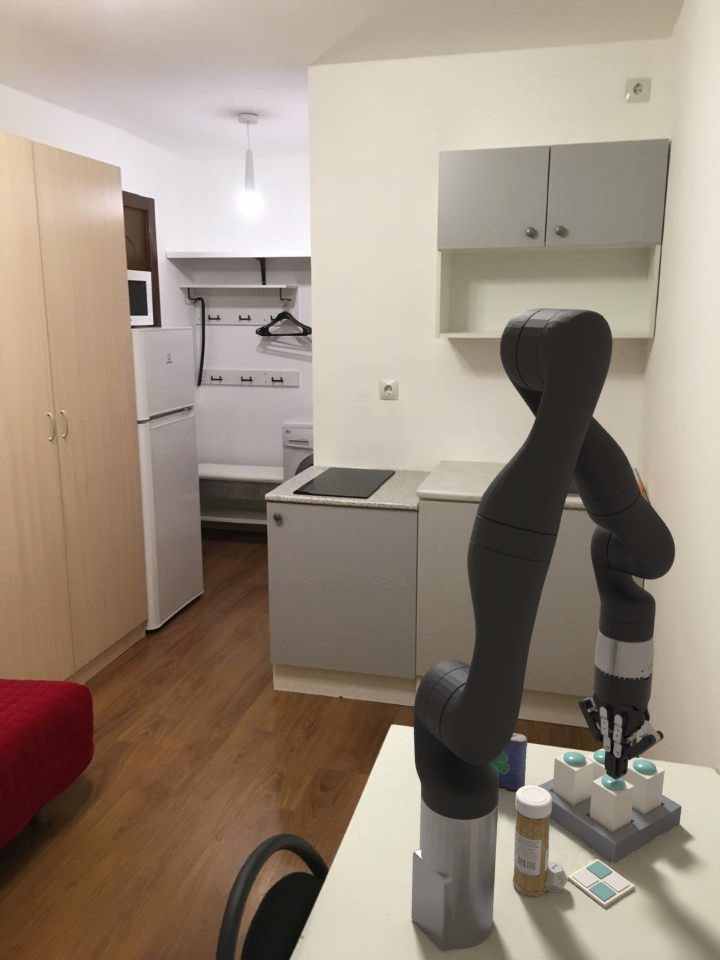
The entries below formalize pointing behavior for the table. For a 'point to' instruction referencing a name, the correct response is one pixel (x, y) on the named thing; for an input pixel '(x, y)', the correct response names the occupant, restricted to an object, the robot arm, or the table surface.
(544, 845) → the sprinkles bottle
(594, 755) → the button far left
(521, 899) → the table surface
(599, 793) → the button near right
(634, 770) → the button far right
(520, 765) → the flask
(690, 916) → the table surface
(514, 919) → the table surface
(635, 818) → the button board
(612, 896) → the card
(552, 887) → the game die
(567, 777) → the button near left
